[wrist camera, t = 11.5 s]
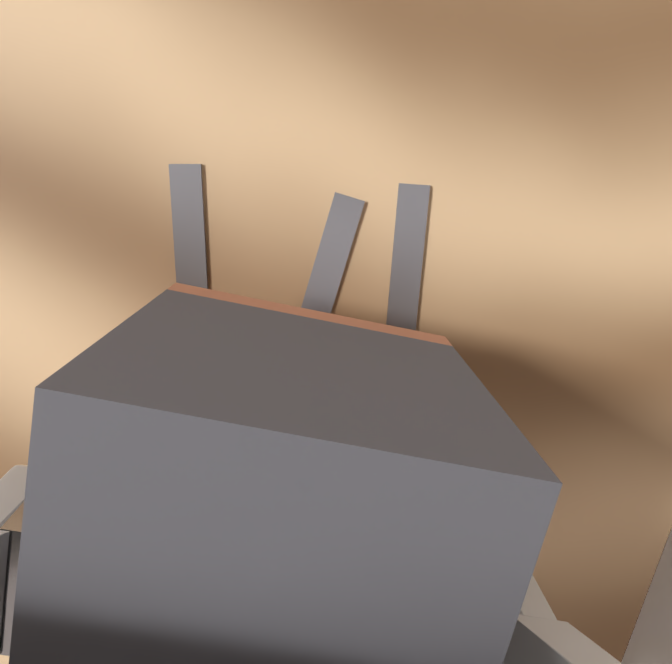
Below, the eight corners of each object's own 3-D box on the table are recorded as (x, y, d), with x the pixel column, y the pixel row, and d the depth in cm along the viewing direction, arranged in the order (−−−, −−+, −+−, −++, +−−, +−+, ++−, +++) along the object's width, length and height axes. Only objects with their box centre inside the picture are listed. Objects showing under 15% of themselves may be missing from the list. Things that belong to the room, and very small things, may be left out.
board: (-89, -467, 10) (-147, -560, 9) (889, -184, 11) (959, -230, 10) (-131, 641, 15) (-172, 682, 14) (557, 740, 16) (577, 786, 15)
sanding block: (175, 282, 10) (35, 387, 5) (444, 336, 10) (563, 484, 5) (122, 641, 11) (-23, 985, 7) (355, 676, 12) (381, 1027, 7)
